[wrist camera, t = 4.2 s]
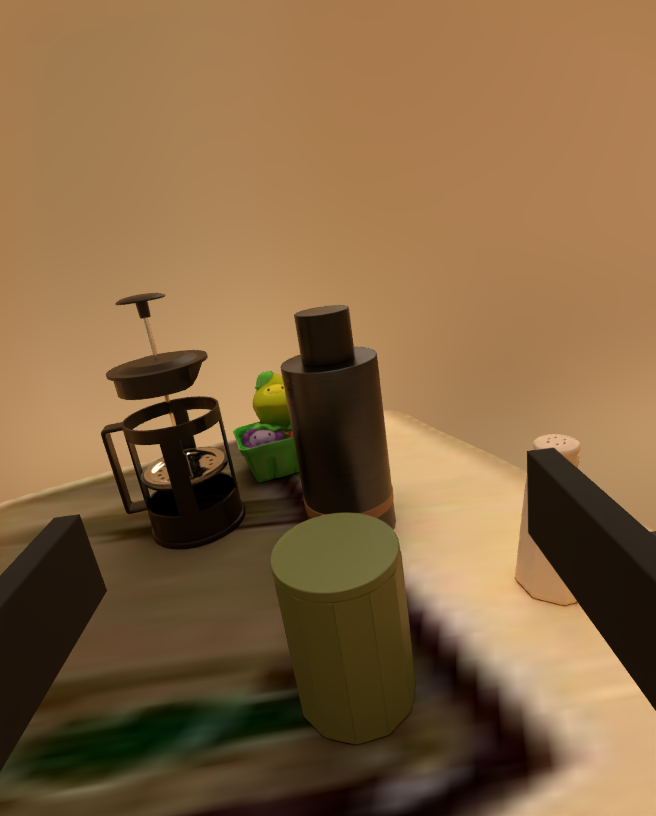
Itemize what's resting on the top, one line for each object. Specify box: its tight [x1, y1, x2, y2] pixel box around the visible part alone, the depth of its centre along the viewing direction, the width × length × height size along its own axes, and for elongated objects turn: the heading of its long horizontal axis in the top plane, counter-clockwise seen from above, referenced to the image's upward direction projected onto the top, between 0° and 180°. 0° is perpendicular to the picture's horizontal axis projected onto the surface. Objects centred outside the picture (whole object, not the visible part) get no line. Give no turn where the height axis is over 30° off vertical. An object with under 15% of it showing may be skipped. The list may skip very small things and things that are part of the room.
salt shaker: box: [515, 434, 581, 606], centre depth 34 cm, size 5×5×11 cm
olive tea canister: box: [270, 513, 416, 745], centre depth 28 cm, size 7×7×10 cm
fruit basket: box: [233, 371, 299, 483], centre depth 58 cm, size 11×9×11 cm
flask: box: [281, 305, 395, 529], centre depth 43 cm, size 8×8×20 cm
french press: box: [101, 293, 245, 549], centre depth 47 cm, size 12×9×23 cm
